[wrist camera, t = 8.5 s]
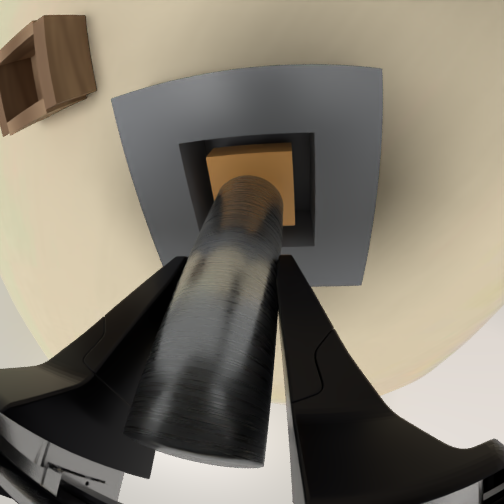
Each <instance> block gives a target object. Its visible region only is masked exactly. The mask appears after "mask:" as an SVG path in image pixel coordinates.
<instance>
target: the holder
mask: <svg viewBox="0 0 504 504" xmlns="http://www.w3.org/2000/svg"><path fill="white" fill-rule="evenodd" d="M96 90H97V89H96V84H95V79H94V74H93V68H92V63H91V57H90V50H89V44H88V36H87V28H86V19H85V15H44V16H42V17H41V18H40V19H38V20H35V21H32V22H30V23H29V24H28V25H27V26H26V27H25V28H23V29H22V30H21V31H20V32H19V33H18V34H17V35H16V36H14V37H13V38H12V39H11V40H10V41H9V42H8V43H7V44H6V45H5V46H4V47H3V48H2V49H1V50H0V127H1V131H2V134H3V137H4V136H6V135H8V134H9V133H10V136H11V135H13V134H14V133H16V132H18V131H20V130H22V129H24V128H26V127H28V126H30V125H32V124H34V123H36V122H38V121H40V120H42V119H45V118H47V117H49V116H51V115H52V114H54V113H56V112H58V111H60V110H62V109H64V108H66V107H68V106H71V105H73V104H75V103H77V102H79V101H81V100H84V99H86V98H87V97H86V95H87V94H89V93H92V92H94V91H96Z"/></svg>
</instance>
